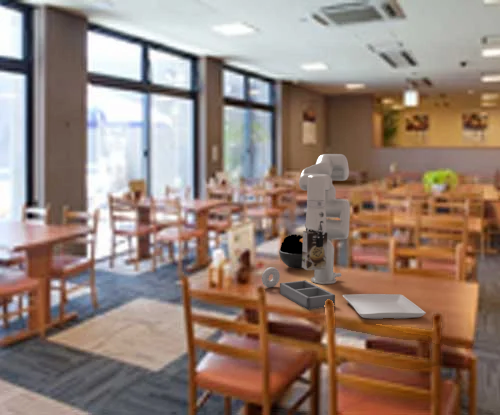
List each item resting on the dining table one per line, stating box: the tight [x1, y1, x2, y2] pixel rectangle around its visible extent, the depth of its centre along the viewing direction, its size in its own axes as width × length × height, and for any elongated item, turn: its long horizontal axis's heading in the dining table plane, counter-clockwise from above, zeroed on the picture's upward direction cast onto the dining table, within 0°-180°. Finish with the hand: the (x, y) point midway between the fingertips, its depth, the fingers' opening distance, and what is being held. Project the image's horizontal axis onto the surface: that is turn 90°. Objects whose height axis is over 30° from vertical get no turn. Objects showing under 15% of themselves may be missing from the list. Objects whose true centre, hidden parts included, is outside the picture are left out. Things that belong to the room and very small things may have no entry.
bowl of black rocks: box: [278, 233, 304, 270], centre depth 286 cm, size 20×20×19 cm
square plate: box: [342, 293, 427, 320], centre depth 214 cm, size 27×27×4 cm
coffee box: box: [302, 230, 327, 271], centre depth 220 cm, size 9×6×16 cm
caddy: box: [279, 279, 336, 310], centre depth 228 cm, size 26×13×5 cm, turn 24°
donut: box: [261, 266, 280, 288], centre depth 247 cm, size 10×4×10 cm, turn 123°
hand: (314, 245), depth 219 cm, fingers closed on coffee box, 6 cm apart
